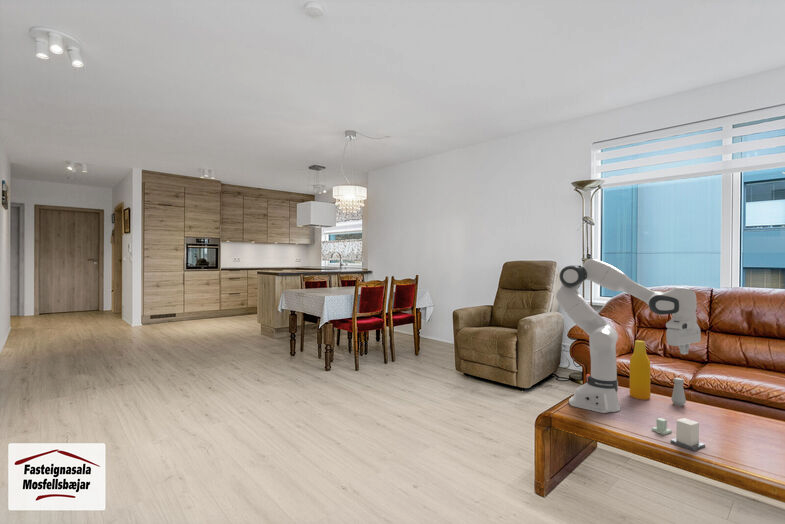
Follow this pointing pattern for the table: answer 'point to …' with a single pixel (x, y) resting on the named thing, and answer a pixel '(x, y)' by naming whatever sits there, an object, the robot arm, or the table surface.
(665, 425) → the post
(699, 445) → the post
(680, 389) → the salt shaker
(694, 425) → the white rectangular block
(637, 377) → the beer bottle
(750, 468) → the table surface
